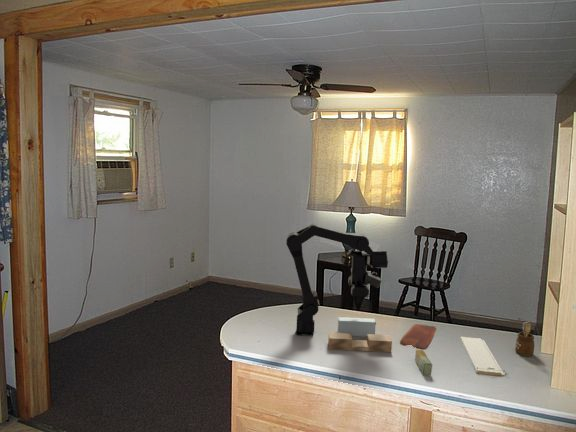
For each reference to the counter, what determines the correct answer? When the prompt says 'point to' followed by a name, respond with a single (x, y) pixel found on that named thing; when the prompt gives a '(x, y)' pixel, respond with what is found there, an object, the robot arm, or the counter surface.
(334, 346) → the notched beam
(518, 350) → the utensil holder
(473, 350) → the baseboard
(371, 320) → the pale blue block
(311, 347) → the counter surface
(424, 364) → the medication box
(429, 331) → the wooden tablet
